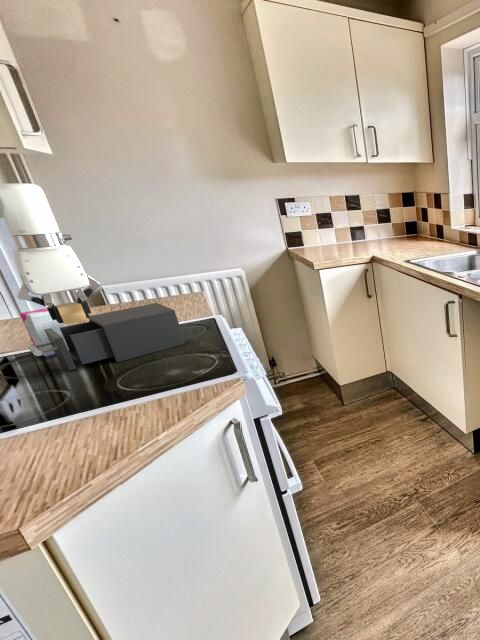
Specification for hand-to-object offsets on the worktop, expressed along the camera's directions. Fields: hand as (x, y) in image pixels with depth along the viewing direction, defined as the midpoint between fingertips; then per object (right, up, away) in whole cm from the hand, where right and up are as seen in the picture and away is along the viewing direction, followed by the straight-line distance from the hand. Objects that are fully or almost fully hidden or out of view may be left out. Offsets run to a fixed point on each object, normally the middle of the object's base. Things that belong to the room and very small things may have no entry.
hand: (73, 318), depth 101 cm
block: (0, 0, 0) cm, 0 cm away
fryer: (+7, -7, +12) cm, 15 cm away
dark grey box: (0, -9, +4) cm, 10 cm away
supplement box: (-14, -9, +10) cm, 20 cm away
